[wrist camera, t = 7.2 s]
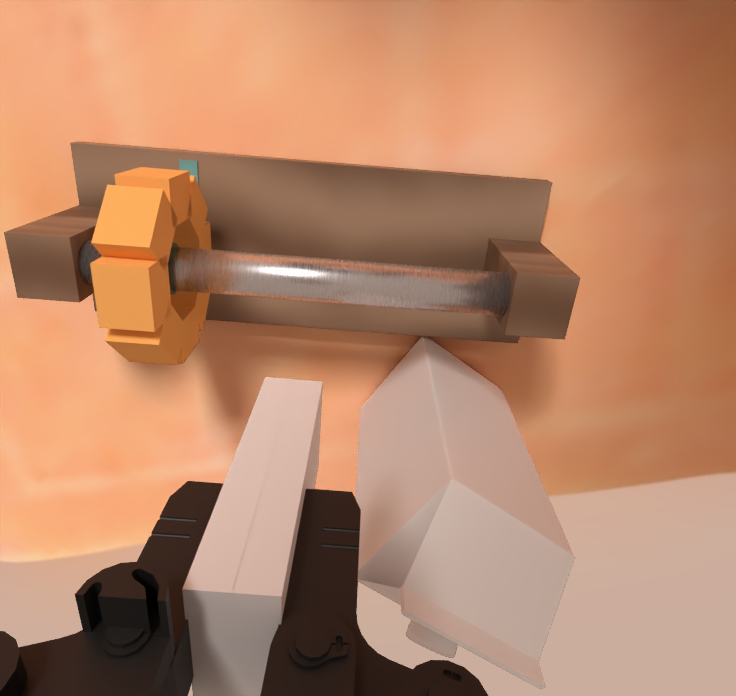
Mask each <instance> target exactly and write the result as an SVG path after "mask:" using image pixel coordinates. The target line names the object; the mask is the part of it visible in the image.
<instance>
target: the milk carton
mask: <svg viewBox="0 0 736 696" xmlns="http://www.w3.org/2000/svg"><path fill="white" fill-rule="evenodd" d="M355 499H356V501H357V503H358V505H359V507H360V509H361V517H360V540H359V563H358V582H360V583H362V584H364V585H365V586H367V587H369V588H371V589H373V590H374V591H376V592H378V593H380V594H382V595H383V596H385V597H387V598H389V599H391V600H393V601H395V602H396V603H398V604H400V605H401V608H402V609H401V611H402V614H403V615H404V616H406V617H408V618H410V619H411V622H410V624H409V626H408V629H407V632H406V636H407V637H408V638H409V639H410V640H412V641H414V642H416V643H417V644H419V645H421V646H423V647H425V648H427V649H430V650H431V651H434V652H436V653H438V654H441V655H443V656H446V657H449V658H453V657H454V656H455V654H456V650H457V645H460V646H461V647H463V648H465V649H467V650H469V651H471V652H472V653H474V654H476V655H478V656H480V657H482V658H484V659H485V660H487V661H489V662H491V663H493V664H495V665H497V666H498V667H500V668H502V669H504V670H506V671H508V672H509V673H511V674H513V675H515V676H517V677H519V678H521V679H522V680H524V681H526V682H528V683H530V684H532V685H534V686H536V687H537V688H539V689H543V688H545V683H544V680H543V676H542V673H541V669H540V666H539V659H540V656H541V653H542V651H543V648H544V645H545V642H546V639H547V636H548V633H549V631H550V628H551V625H552V622H553V619H554V616H555V613H556V610H557V608H558V605H559V602H560V599H561V596H562V593H563V591H564V588H565V585H566V582H567V579H568V576H569V573H570V570H571V567H572V565H573V562H574V559H575V557H574V555H573V553H572V551H571V549H570V546H569V544H568V542H567V539H566V537H565V535H564V532H563V530H562V528H561V525H560V523H559V521H558V519H557V516H556V514H555V512H554V509H553V507H552V505H551V502H550V500H549V498H548V495H547V493H546V491H545V489H544V486H543V484H542V482H541V479H540V477H539V475H538V472H537V470H536V468H535V465H534V463H533V461H532V458H531V456H530V454H529V452H528V449H527V447H526V445H525V442H524V440H523V438H522V435H521V433H520V431H519V428H518V426H517V424H516V421H515V419H514V417H513V415H512V412H511V410H510V408H509V405H508V403H507V401H506V398H505V396H504V394H503V392H502V390H501V389H500V388H498V387H497V386H496V385H494V384H493V383H492V382H490V381H489V380H487V379H486V378H485V377H483V376H482V375H480V374H479V373H478V372H476V371H475V370H473V369H472V368H470V367H469V366H468V365H466V364H465V363H463V362H462V361H461V360H459V359H458V358H456V357H455V356H454V355H452V354H451V353H449V352H448V351H447V350H445V349H444V348H442V347H441V346H440V345H438V344H437V343H435V342H434V341H432V340H431V339H430V338H428V337H426V336H422V337H421V338H420V339H419V340H418V341H417V342H416V344H415V345H414V346H413V347H412V348H411V349H410V351H409V352H408V353H407V354H406V355H405V356H404V358H403V359H402V360H401V361H400V362H399V363H398V364H397V366H396V367H395V368H394V369H393V370H392V371H391V373H390V374H389V375H388V376H387V377H386V378H385V380H384V381H383V382H382V383H381V384H380V385H379V387H378V388H377V389H376V390H375V391H374V392H373V393H372V395H371V396H370V397H369V398H368V399H367V400H366V402H365V403H364V404H363V405H362V406H361V408H360V419H359V439H358V459H357V478H356V498H355Z"/></svg>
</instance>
